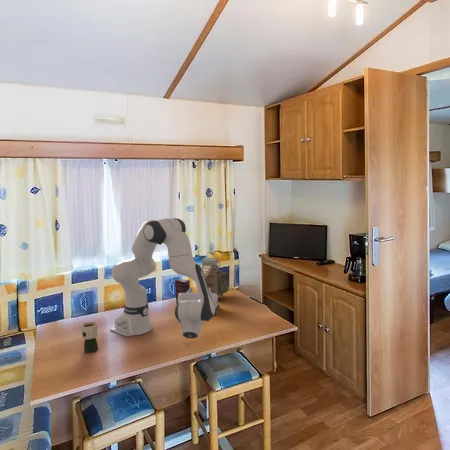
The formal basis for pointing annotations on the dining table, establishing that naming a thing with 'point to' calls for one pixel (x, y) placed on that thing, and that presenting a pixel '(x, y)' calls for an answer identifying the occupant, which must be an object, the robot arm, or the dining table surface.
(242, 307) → the dining table surface
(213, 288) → the walnut shelf
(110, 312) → the dining table surface
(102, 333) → the dining table surface
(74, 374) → the dining table surface
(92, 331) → the character mug
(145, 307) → the robot arm
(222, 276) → the tabletop clock
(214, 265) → the mallet
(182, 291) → the supplement box
